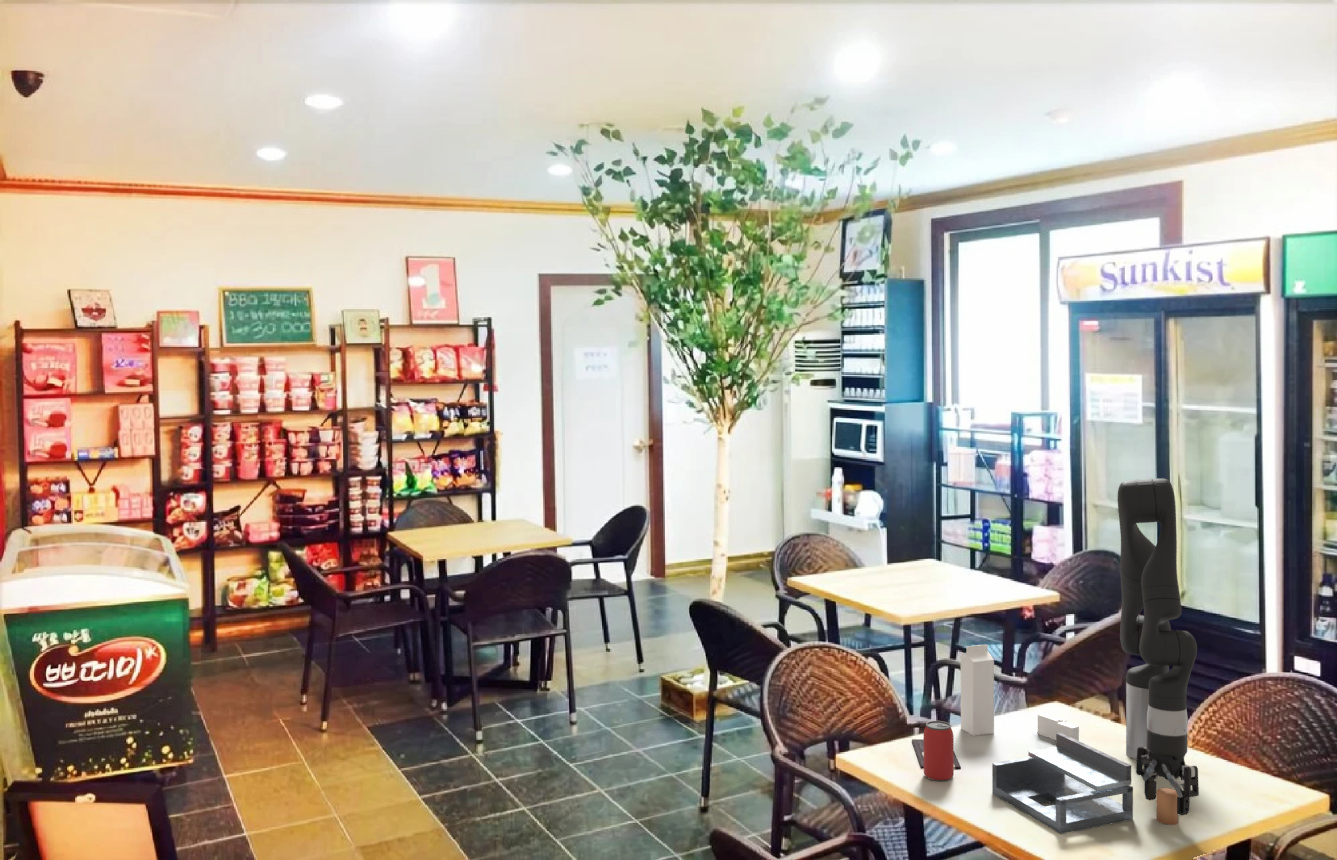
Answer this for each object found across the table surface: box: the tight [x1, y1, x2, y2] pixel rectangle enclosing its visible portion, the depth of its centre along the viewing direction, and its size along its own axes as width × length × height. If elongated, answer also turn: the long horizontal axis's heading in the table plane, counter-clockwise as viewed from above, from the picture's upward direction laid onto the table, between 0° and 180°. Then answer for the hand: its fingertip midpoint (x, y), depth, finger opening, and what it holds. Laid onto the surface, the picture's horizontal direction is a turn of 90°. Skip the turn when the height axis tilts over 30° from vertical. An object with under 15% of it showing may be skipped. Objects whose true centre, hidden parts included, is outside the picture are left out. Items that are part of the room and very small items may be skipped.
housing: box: [991, 756, 1134, 835], centre depth 233 cm, size 18×22×7 cm
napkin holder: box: [1037, 712, 1080, 741], centre depth 273 cm, size 15×11×6 cm
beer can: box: [923, 720, 955, 782], centre depth 251 cm, size 7×7×12 cm
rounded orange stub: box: [1155, 787, 1179, 826], centre depth 225 cm, size 4×4×6 cm
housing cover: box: [1028, 733, 1132, 791], centre depth 234 cm, size 9×21×4 cm, turn 20°
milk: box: [960, 644, 995, 737], centre depth 280 cm, size 6×6×22 cm
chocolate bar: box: [911, 738, 962, 770], centre depth 265 cm, size 9×1×18 cm
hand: (1166, 806), depth 225 cm, fingers open, 8 cm apart
